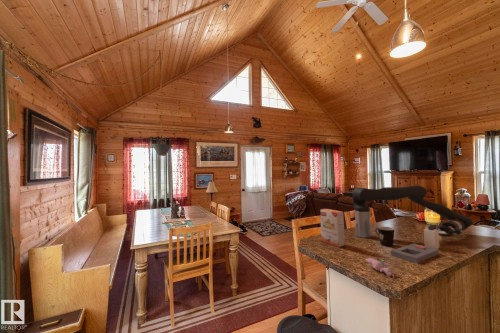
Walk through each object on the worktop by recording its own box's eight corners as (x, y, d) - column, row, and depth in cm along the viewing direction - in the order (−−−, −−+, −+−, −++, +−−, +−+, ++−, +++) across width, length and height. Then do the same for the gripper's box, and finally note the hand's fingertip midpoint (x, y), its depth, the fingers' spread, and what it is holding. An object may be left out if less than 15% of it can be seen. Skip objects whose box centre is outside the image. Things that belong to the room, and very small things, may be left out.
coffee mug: (398, 247, 128) (397, 230, 128) (381, 247, 129) (380, 230, 130) (389, 241, 139) (388, 225, 139) (374, 241, 141) (373, 225, 141)
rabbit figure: (400, 279, 94) (370, 261, 108) (402, 266, 93) (371, 249, 107) (390, 282, 91) (360, 263, 105) (391, 269, 91) (361, 251, 105)
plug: (435, 249, 123) (433, 226, 123) (424, 247, 127) (423, 224, 128) (439, 247, 125) (438, 224, 126) (429, 245, 130) (427, 223, 130)
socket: (417, 263, 106) (416, 256, 106) (391, 255, 116) (390, 249, 116) (438, 254, 116) (438, 247, 116) (413, 247, 127) (413, 242, 127)
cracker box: (320, 241, 143) (319, 209, 144) (327, 240, 146) (326, 208, 147) (338, 247, 131) (336, 212, 132) (345, 245, 134) (343, 211, 134)
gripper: (437, 219, 146) (425, 222, 138) (466, 223, 134) (455, 227, 126) (438, 230, 146) (426, 234, 138) (467, 235, 133) (456, 240, 125)
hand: (440, 231), depth 132 cm, fingers open, 8 cm apart
